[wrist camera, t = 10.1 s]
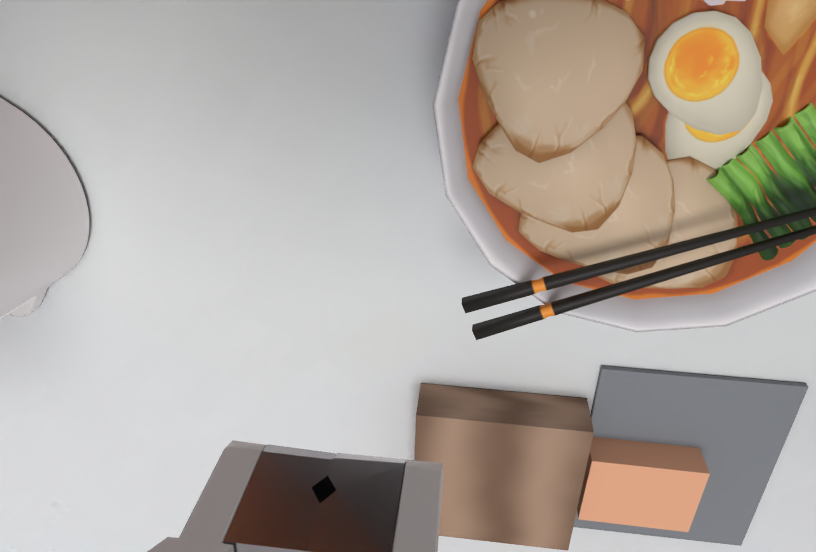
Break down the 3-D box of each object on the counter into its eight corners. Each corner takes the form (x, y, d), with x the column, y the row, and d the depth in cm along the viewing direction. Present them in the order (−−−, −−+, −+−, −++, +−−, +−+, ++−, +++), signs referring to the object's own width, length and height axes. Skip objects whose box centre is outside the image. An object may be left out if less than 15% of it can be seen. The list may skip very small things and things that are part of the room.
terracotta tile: (574, 493, 48) (578, 519, 46) (587, 436, 45) (591, 460, 43) (679, 505, 47) (688, 532, 45) (699, 447, 45) (709, 473, 42)
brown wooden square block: (416, 497, 51) (412, 532, 48) (421, 383, 45) (416, 415, 42) (563, 513, 50) (567, 550, 47) (586, 398, 44) (593, 432, 41)
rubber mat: (567, 522, 50) (568, 526, 50) (601, 365, 43) (602, 369, 42) (739, 541, 49) (740, 545, 49) (805, 383, 41) (808, 387, 41)
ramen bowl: (907, -285, 26) (1069, -373, 18) (917, 202, 35) (1026, 270, 28) (363, -43, 32) (327, -38, 25) (494, 311, 42) (494, 388, 35)
